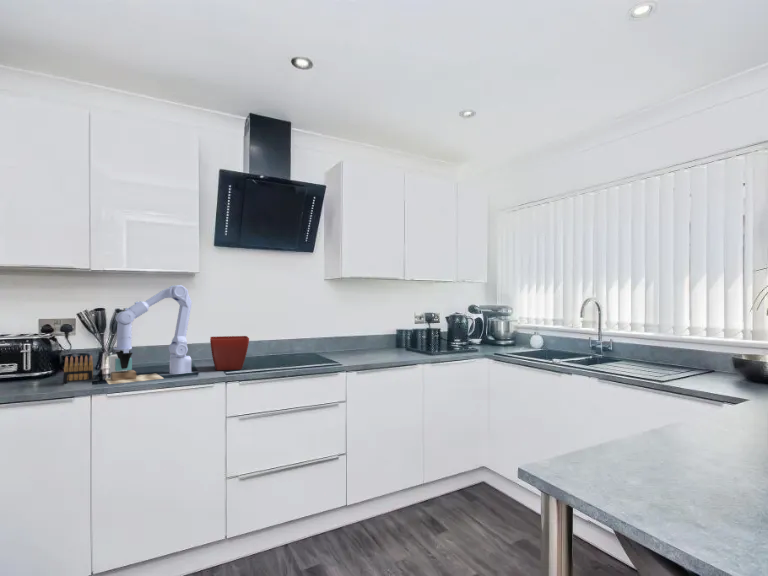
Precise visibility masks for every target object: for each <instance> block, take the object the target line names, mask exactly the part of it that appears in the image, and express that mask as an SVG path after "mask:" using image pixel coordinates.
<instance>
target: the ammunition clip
mask: <svg viewBox="0 0 768 576" xmlns="http://www.w3.org/2000/svg"><path fill="white" fill-rule="evenodd" d="M79 357H80V358H79ZM79 357H78V355H76V356H75V358H74V357H73V355H71V356H70V359H69V357H68V355H66V356H65V358H64V365H63V377H62V378H63V379H62V385H64V384H65V385H66V384H67V385H68V382H75V381H77V382H78V381H89V380H94V362H93V361H94V360H93V355H92V354H90V356H89V358H88V355H87V354H86V355H85V356H84V357H83V354H82V355H80V356H79Z"/></svg>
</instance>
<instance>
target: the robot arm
mask: <svg viewBox="0 0 768 576" xmlns="http://www.w3.org/2000/svg"><path fill="white" fill-rule="evenodd" d="M164 299H173V300H174V301H175V302H177V304H178V305H179V308H178V315H177V321H176V325H175V331H174V336H173V338H172V339H171V343H170V344H169V345H168V352H169V354H170V355H169V374H170V375H179V374H180V375H181V374H186V373H187V374H188V373H189V374H190V373H192V358H191V356H190V355H187V353H188V351H189V348H188V339H187V333H188V332H187V331H188V326H189V321H190V315H191V310H192V304H193V302H192V299H191V296H190V295H189V290H188V288H187V287H185V286H184V285H181V284H177V285H171V286H168V287H166V288H164V289H162V290H160V291H158V293H156V294H155V295H153V296H151V297H150V298H148V299H146V300H145V301H143V300H139V301H135V302H134V304H132V305H131V306H129V307H126V308H124V311H122V310H121V311H120V312H118V313H117V314H116V317H115V320H116V322H117V325H116V326H117V328H116V347H113V348H112V349H113V350H116V352H115V355H116V354H117V356H118V359H119V358H120V363H121V368H122V369H123V368H127V367H128V363H129V359H130V358H132V355H133V352H131V350H132V349H133V346H132V341H133V339H132V338H133V337H132V336H133V333H132V331H133V327H132V325H133V324H132V323H133V321H134V320H135V319H137V318H139V317H141V316H142V315H144V314H145V313H147V312H149V309H150V307H152V306H153V305H155V304H157V303H159V302H161V301H162V300H164ZM117 350H118V351H117Z"/></svg>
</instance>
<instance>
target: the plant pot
mask: <svg viewBox="0 0 768 576" xmlns="http://www.w3.org/2000/svg"><path fill="white" fill-rule="evenodd" d="M209 338H210V341H209V343H210V349H211V350H210V351H211V356H212V362H213V366H214V368H215V371H232V370H233V371H234V370H237V371H238V370H243V366H244V364H245V360H246V358H247V357H246V356H247V354H248V348H249V345H250V344H249V343H250V338H249V337H248V335H231V336H229V335H228V336H227V335H226V336H210V337H209Z"/></svg>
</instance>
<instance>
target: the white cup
mask: <svg viewBox="0 0 768 576" xmlns="http://www.w3.org/2000/svg"><path fill="white" fill-rule="evenodd" d="M108 358H109V359H108V362H109V363H108V364H109V375H110V376H111V372H118V371H116V370H115V359H118V356H117V354H116V353H115V354H111V355H109V356H108ZM123 371H128V370H123Z"/></svg>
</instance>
